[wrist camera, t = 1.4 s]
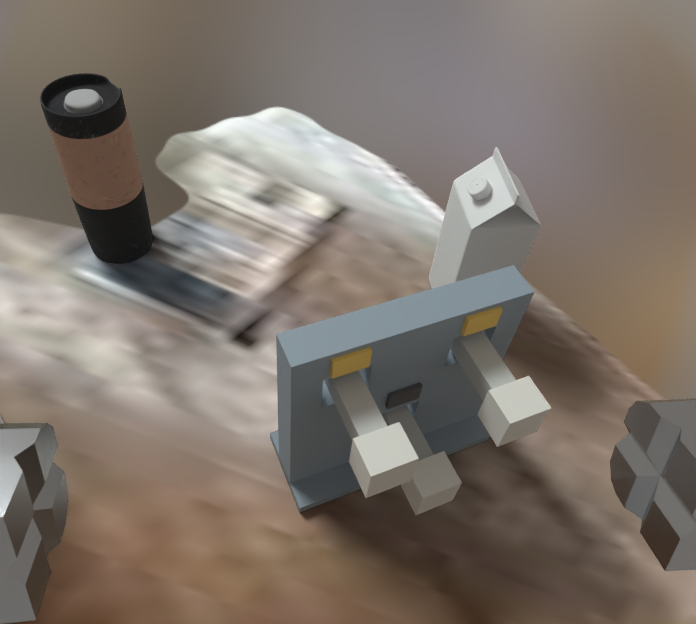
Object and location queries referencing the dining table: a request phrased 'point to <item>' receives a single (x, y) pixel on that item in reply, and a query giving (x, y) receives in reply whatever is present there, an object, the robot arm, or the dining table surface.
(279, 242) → the dining table surface
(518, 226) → the milk carton
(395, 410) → the button bottom
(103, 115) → the travel mug
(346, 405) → the button top left
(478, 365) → the button top right
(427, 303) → the panel
